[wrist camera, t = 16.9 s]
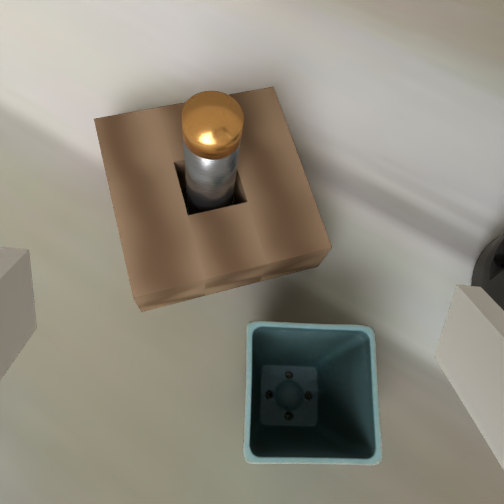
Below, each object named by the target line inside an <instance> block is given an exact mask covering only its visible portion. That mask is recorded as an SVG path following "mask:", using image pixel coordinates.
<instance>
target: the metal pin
mask: <svg viewBox="0 0 504 504" xmlns="http://www.w3.org/2000/svg"><path fill="white" fill-rule="evenodd" d="M243 121H244V116H243V111H242V109H241V107H240V105H239V104H238V102H237V101H236V100H235V99H233V98H232V97H231V96H229V95H227V94H225V93H222V92H218V91H205V92H201V93H198V94H196V95H194V96H193V97H191V98H190V99H189V100H188V101H187V102H186V103H185V105H184V107H183V110H182V130H183V145H184V159H185V174H186V188H187V203H188V213H189V215H192V214H197V213H201V212H206V211H210V210H215V209H219V208H223V207H228V206H232V201H233V194H234V186H235V179H236V172H237V165H238V157H239V150H240V143H241V136H242V128H243Z"/></svg>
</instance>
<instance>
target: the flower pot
mask: <svg viewBox="0 0 504 504" xmlns="http://www.w3.org/2000/svg"><path fill="white" fill-rule="evenodd" d="M286 372H290V373H291V374H292V376H291V377H290V378H287V377H286V376H285V374H286ZM268 391H270V392H271V393H272V397H271V398H267V396H266V393H267V392H268ZM306 392H308V393H310V395H311V396H310V398H309V399H306V398H305V393H306ZM379 410H380V409H379V395H378V379H377V361H376V339H375V333H374V330H373V328H372V327H370V326H367V325H345V324H314V323H293V322H272V321H251V322H249V323H248V325H247V329H246V392H245V420H244V440H243V455H244V459H245V460H246V462H248V463H251V464H348V465H377V464H379V463H380V462H381V460H382V441H381V425H380V411H379ZM286 413H290V414H291V415H292V416H291V419H286V417H285V415H286Z"/></svg>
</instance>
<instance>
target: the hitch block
mask: <svg viewBox="0 0 504 504" xmlns="http://www.w3.org/2000/svg"><path fill="white" fill-rule="evenodd" d="M229 96H231V97H232V98H233V99H235V100H236V101H237V102H238V104H239V105H240V107H241V109H242V111H243V116H244V121H243V128H242V136H241V143H240V150H239V157H238V165H237V172H236V179H235V186H234V194H233V196H234V199H235V202H236V205H232V206H228V207H223V208H219V209H215V210H210V211H206V212H201V213H197V214H192V215H188V214H187V210H186V207H185V203H184V199H183V195H182V192H181V188H185V187H186V174H185V159H184V145H183V130H182V110H183V107H184V105H185V103H186V102H185V103H180V104H174V105H169V106H163V107H157V108H152V109H146V110H141V111H135V112H129V113H124V114H118V115H113V116H107V117H101V118H96V119H94V121H95V126H96V130H97V135H98V139H99V144H100V149H101V153H102V158H103V162H104V167H105V171H106V176H107V180H108V185H109V189H110V194H111V198H112V203H113V208H114V212H115V217H116V221H117V226H118V230H119V235H120V239H121V244H122V248H123V253H124V258H125V262H126V267H127V271H128V276H129V280H130V285H131V289H132V294H133V298H134V300H135V302H136V303H137V305H138V307H139V309H140V310H141V312H143V311H147V310H151V309H155V308H159V307H162V306H166V305H170V304H174V303H178V302H182V301H186V300H190V299H193V298H197V297H201V296H205V295H209V294H213V293H217V292H221V291H224V290H228V289H232V288H236V287H240V286H244V285H248V284H251V283H255V282H259V281H263V280H267V279H271V278H275V277H279V276H282V275H286V274H290V273H294V272H298V271H302V270H306V269H310V268H313V267H317V266H318V265H319V264H320V263H321V261H322V260H323V259H324V257H325V256H326V255H327V253H328V252H329V251H330V249H331V248H332V246H331V244H330V241H329V238H328V235H327V233H326V230H325V227H324V224H323V222H322V219H321V216H320V213H319V211H318V208H317V205H316V202H315V200H314V197H313V194H312V191H311V189H310V186H309V183H308V180H307V178H306V175H305V172H304V169H303V167H302V164H301V161H300V158H299V156H298V153H297V150H296V147H295V145H294V142H293V139H292V136H291V134H290V131H289V128H288V125H287V123H286V120H285V117H284V114H283V112H282V109H281V106H280V103H279V101H278V98H277V95H276V92H275V90H274V87H269V88H264V89H258V90H252V91H247V92H241V93H236V94H230V95H229Z"/></svg>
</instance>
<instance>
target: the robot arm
mask: <svg viewBox="0 0 504 504" xmlns="http://www.w3.org/2000/svg"><path fill="white" fill-rule="evenodd" d="M36 328H37V324H36V314H35V304H34V293H33V283H32V273H31V263H30V253H29V249H19V248H7V247H2V248H1V249H0V380H1V379H2V377H3V376H4V374H5V373H6V372H7V370H8V369H9V367H10V366H11V364H12V363H13V361H14V360H15V358H16V357H17V356H18V354H19V353H20V351H21V350H22V348H23V347H24V345H25V344H26V343H27V341H28V340H29V338H30V337H31V335H32V334H33V332H34V331H35V330H36ZM434 357H435V359H436V360H437V362H438V364H439V365H440V367H441V368H442V370H443V372H444V373H445V375H446V377H447V378H448V380H449V381H450V383H451V385H452V386H453V388H454V390H455V391H456V393H457V395H458V396H459V398H460V399H461V401H462V403H463V404H464V406H465V408H466V409H467V411H468V413H469V414H470V416H471V417H472V419H473V421H474V422H475V424H476V426H477V427H478V429H479V431H480V432H481V434H482V435H483V437H484V439H485V440H486V442H487V444H488V445H489V447H490V449H491V450H492V452H493V453H494V455H495V457H496V458H497V460H498V462H499V463H500V465H501V467H502V468H503V470H504V234H502V235H501V236H499V237H498V238H496V239H495V240H493V241H492V242H491V243H490V244H489V245H488V246H487V247H486V248H485V249H484V251H483V252H482V253H481V255H480V257H479V259H478V261H477V263H476V266H475V269H474V272H473V277H472V286H465V285H457V287H456V290H455V293H454V296H453V299H452V302H451V305H450V308H449V311H448V315H447V318H446V321H445V324H444V327H443V330H442V333H441V336H440V339H439V342H438V345H437V348H436V352H435V355H434Z"/></svg>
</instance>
